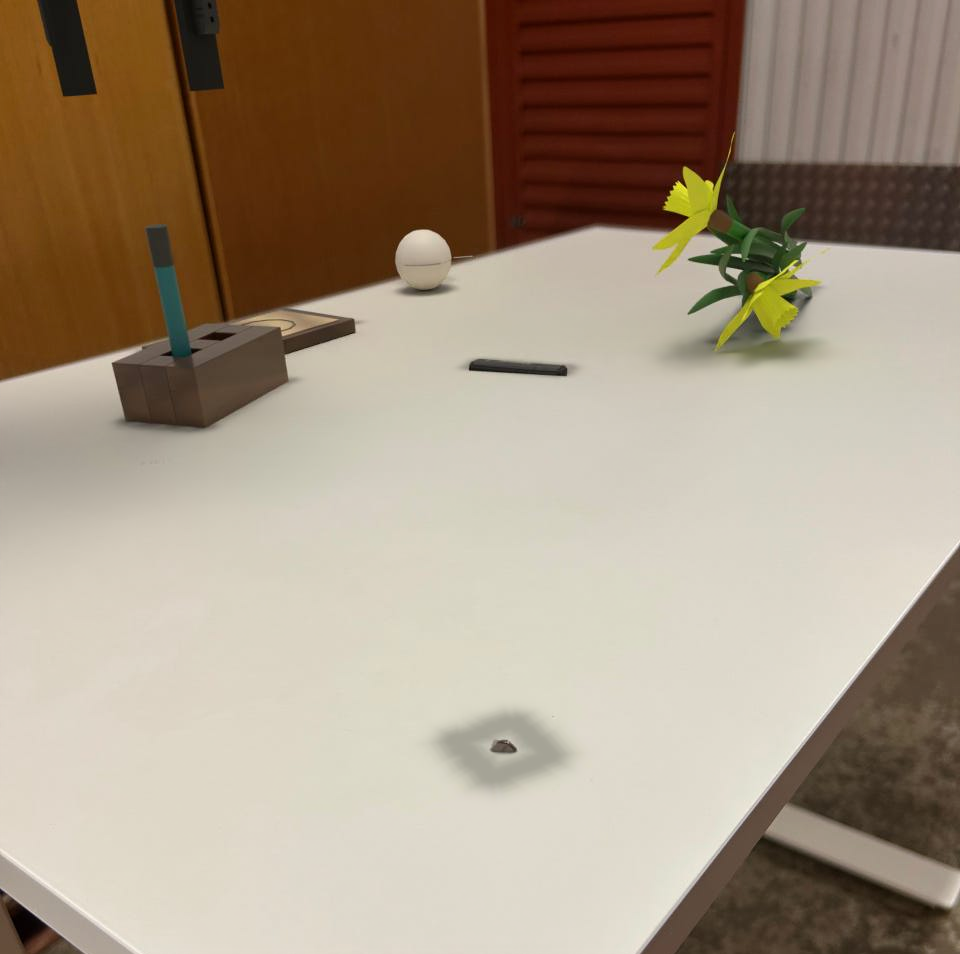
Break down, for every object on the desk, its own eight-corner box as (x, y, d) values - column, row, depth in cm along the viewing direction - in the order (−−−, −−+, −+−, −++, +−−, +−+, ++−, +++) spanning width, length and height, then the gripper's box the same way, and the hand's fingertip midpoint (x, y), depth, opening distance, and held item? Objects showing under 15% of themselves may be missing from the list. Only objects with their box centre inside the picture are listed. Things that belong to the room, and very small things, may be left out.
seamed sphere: (390, 295, 128) (384, 235, 124) (407, 283, 134) (402, 225, 130) (464, 295, 126) (461, 234, 122) (479, 283, 132) (476, 224, 128)
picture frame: (213, 376, 99) (210, 359, 98) (144, 360, 106) (140, 344, 105) (356, 332, 112) (354, 317, 111) (286, 320, 119) (284, 306, 118)
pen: (181, 422, 87) (140, 228, 79) (193, 416, 88) (153, 224, 80) (197, 424, 86) (158, 228, 78) (209, 418, 88) (171, 224, 80)
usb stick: (570, 378, 93) (570, 361, 92) (560, 386, 91) (560, 369, 90) (478, 370, 96) (478, 354, 96) (467, 378, 94) (466, 362, 94)
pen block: (127, 432, 86) (111, 362, 82) (217, 386, 96) (205, 323, 93) (207, 439, 83) (193, 368, 80) (290, 391, 94) (280, 326, 91)
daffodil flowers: (880, 309, 113) (831, 284, 83) (759, 370, 120) (675, 368, 90) (821, 172, 112) (750, 97, 82) (704, 242, 120) (600, 197, 90)
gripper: (251, -316, 60) (302, 84, 71) (-6, -240, 72) (71, 94, 83) (159, -348, 55) (229, 90, 66) (-104, -260, 66) (-7, 100, 77)
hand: (141, 93), depth 74 cm, fingers open, 13 cm apart
